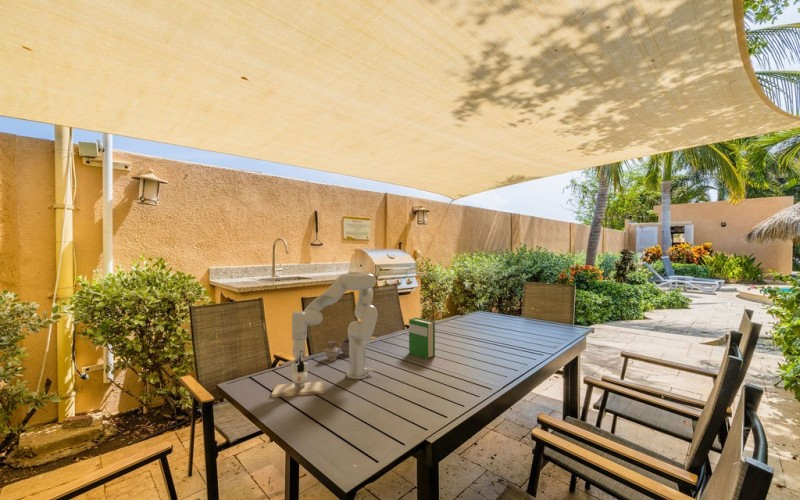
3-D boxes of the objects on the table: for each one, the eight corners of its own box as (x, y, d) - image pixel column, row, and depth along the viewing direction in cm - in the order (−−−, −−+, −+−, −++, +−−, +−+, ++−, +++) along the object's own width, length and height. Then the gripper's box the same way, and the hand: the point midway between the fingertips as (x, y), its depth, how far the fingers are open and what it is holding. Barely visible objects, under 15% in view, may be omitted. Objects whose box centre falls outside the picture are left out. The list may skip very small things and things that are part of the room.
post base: (325, 383, 187) (325, 374, 186) (324, 393, 175) (324, 383, 175) (275, 387, 182) (275, 378, 182) (271, 397, 170) (271, 387, 170)
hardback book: (434, 356, 231) (434, 321, 231) (427, 359, 227) (427, 323, 226) (416, 350, 245) (416, 317, 244) (409, 353, 240) (409, 319, 239)
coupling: (292, 378, 181) (292, 361, 181) (307, 376, 183) (307, 360, 183) (290, 385, 172) (290, 368, 172) (307, 383, 174) (307, 366, 174)
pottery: (320, 360, 225) (320, 342, 225) (347, 350, 246) (347, 334, 246) (332, 363, 219) (332, 345, 219) (359, 353, 239) (359, 336, 239)
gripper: (288, 332, 183) (289, 366, 184) (295, 340, 169) (295, 377, 169) (303, 331, 187) (303, 364, 187) (310, 338, 172) (310, 374, 172)
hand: (299, 369), depth 178 cm, fingers open, 4 cm apart
